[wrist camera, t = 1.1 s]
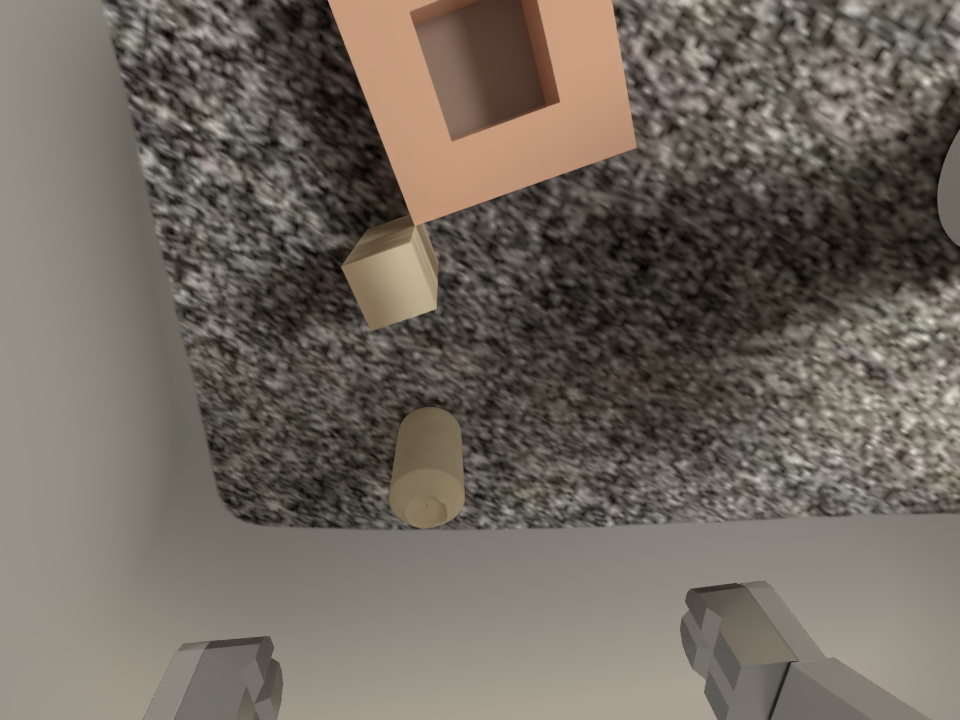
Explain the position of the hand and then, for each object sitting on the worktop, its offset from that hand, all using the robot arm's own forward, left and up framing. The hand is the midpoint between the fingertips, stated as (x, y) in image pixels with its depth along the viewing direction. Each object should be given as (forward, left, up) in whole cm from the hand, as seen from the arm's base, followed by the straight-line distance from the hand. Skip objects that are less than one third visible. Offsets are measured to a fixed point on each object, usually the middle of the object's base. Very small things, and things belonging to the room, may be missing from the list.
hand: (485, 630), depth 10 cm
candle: (+7, +14, -31) cm, 34 cm away
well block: (-6, -11, -30) cm, 33 cm away
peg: (+3, -2, -30) cm, 31 cm away
